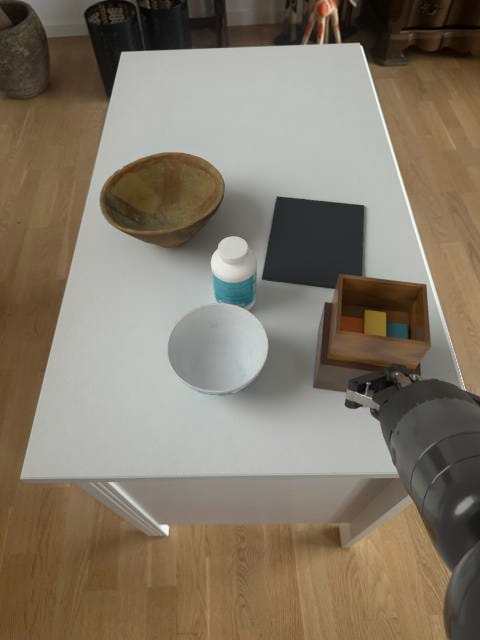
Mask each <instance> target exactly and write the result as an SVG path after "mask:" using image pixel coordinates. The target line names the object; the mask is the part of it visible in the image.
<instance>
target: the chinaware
mask: <svg viewBox="0 0 480 640" xmlns="http://www.w3.org/2000/svg"><path fill="white" fill-rule="evenodd" d="M166 342H167V343H166V357H167V361H168V364H169V366H170V368H171V370H172V372H173V373H174V375H175V376H176V377H177V378H178V379H179V380H180V381H181V383H183V384H185V386H186V387H188V388H189V389H191V390H193V391H195V392H197V393H199V394H203V395H206V396H216V397H217V396H219V397H221V396H228V395H233V394H234V393H237V392H239V391H241V390H243V389H244V388H247V387H248V386H249V385H250V384H251V383H252V382H254V380H255V379H256V378H258V376H259V375H260V373H261V372H262V371H263V368H264V367H265V364H266V362H267V359H268V355H269V349H270V348H269V345H270V344H269V338H268V333H267V331H266V328H265V327H264V325H263V323H262V322H261V321H260V320H259V319H258V318H257V317H256V316H255V315H254V314H253V313H252V312H250V310H248V311H247V310H245V309H243V308H241V307H239V306H236V305H232V304H225V303H216V302H214V303H207V304H204V305H200V306H198V307H195V308H193V309H191V310H190V311H188V312H187V313H185V314H183V316H181V317H180V318H179V319H178V320H177V322H176V323H175V324H174V325H173V326H172V328H171V330H170V333H169V335H168V338H167V341H166Z"/></svg>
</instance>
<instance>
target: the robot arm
mask: <svg viewBox="0 0 480 640" xmlns="http://www.w3.org/2000/svg"><path fill="white" fill-rule="evenodd" d="M344 400H345V401H344V407H345V408H347V409H350V410H357V409H359V408H363V409H367V408H368V409H369V413H370V416H372V417H373V418H374V419H375V420H377V421H378V422H379V425H380V426H379V427H380V429H381V430H380V431H381V434H382V437H383V440H384V443H385V445H386V447H387V450H388V452H389V455H390V457H391V461H392V464H393V466H394V467H395V469H396V472H397V475H398V478H399V479H400V481H401V484H402V485H403V487H404V490H405V491H406V493H407V494H408V496H409V498H410V499H411V500H412V501H413V504H414V505H415V507H416V510H417V513H418V514H419V517H420V519H421V522H422V524H423V527H424V529H425V531H426V534H427V537H428V538H429V541H430V542H431V544H432V547H433V548H434V550H435V552H436V553H437V555H438V556H439V558H440V560H441V561H442V562H443V564H444V566H445V567H446V568H447V570H448V571H449V572H450V573H451V575H450V578H449V579H448V582H447V584H446V587H445V591H444V596H443V604H442V605H443V606H442V620H443V621H442V622H443V628H444V632H445V637H446V640H480V395H477V394H474V393H472V392H470V391H467V390H465V389H462V388H461V387H459V386H457V385H455V384H453V383H451V382H448V381H445V380H441V379H438V378H429V379H428V378H423V377H422V375H421V376H419V375H417V374H414V373H413V372H412V371H411V370H408V369H407V367H406V366H405V365H401V364H394V363H391V364H390V367H385V371H384V372H383V371H375V372H372V373H368V374H365V375H362V376H359V377H356V378H353V379H350V380H349V381H348V387H347V392H345V399H344Z"/></svg>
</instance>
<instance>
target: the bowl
mask: <svg viewBox="0 0 480 640" xmlns="http://www.w3.org/2000/svg"><path fill="white" fill-rule="evenodd" d="M225 190H226V184H225V180H224V178H223V174H221V172H220V171H219V170H218V169H217V168H216V167H215V165H213V164H211V163H210V162H209V161H208V160H206V159H204V158H202V157H200V156H198V155H194V154H190V153H186V152H178V151H175V152H174V151H172V152H171V151H165V152H163V151H162V152H159V153H154V154H151V155H147V156H145V157H140V158H137V159H136V160H134V161H132V162H130V163H128V164H125V165H123V166H122V168H119V169H117V170H115V172H113V173H112V175H110V176H109V177H108V178H107V179H106V180H105V181H104V183H103V185H102V187H101V190H100V194H99V209H100V211H101V214H102V216H103V217H104V219H105V220H106V221H107V223H108V224H110V225H111V226H112V227H113V228H115V229H117V230H118V231H120V232H122V233H124V234H126V235H127V236H130V237H132V238H135V239H137V240H139V241H141V242H143V243H148V244H151V245H154V246H158V247H162V248H174V247H178V246H179V247H180V246H181V245H183V244H184V243H186V242H187V241H188V240H189V239H190V238H191V239H192V238H193V236H195V235H196V234H197V233H199V232H200V230H202V229H203V228H204V227H205V226H206V225H207V223H208V222H209V221H211V219H212V218H213V217H214V216H215V215H216V213H217V212H218V210H219V208H220V206H221V204H222V202H223V200H224V197H225V192H226V191H225Z"/></svg>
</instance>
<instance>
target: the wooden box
mask: <svg viewBox="0 0 480 640" xmlns="http://www.w3.org/2000/svg"><path fill="white" fill-rule="evenodd" d="M330 303H331V317H330V331H329V344H328V359H333V360H340V361H347V362H354V363H362V364H369V365H376V366H383V367H390V364H391V363H394V364H401V365H405V366H406V367H407V369H408V370H411V371H414V370H415V368H416V367H417V365H418V364H419V363H420V364H421V361H422V360H423V359H424V357H425V356H426V354H427V353H428V352H429V350H430V348H431V347H432V344H431V343H432V342H431V329H430V328H431V327H430V316H429V315H430V314H429V300H428V285H427V284H426V283H419V282H411V281H401V280H393V279H386V278H377V277H368V276H362V277H361V276H353V275H344V274H339V276H338V280H337V284H336V288H335V289H334V292H333V295H332V299H331V302H330ZM365 310H371V311H379V312H386V322H393V323H401V324H407V325H408V339H401V338H393V337H386V336H378V335H371V334H363V333H356V332H348V331H341V330H340V324H341V316H346V317H354V318H362V319H363V314H364V311H365Z"/></svg>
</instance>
